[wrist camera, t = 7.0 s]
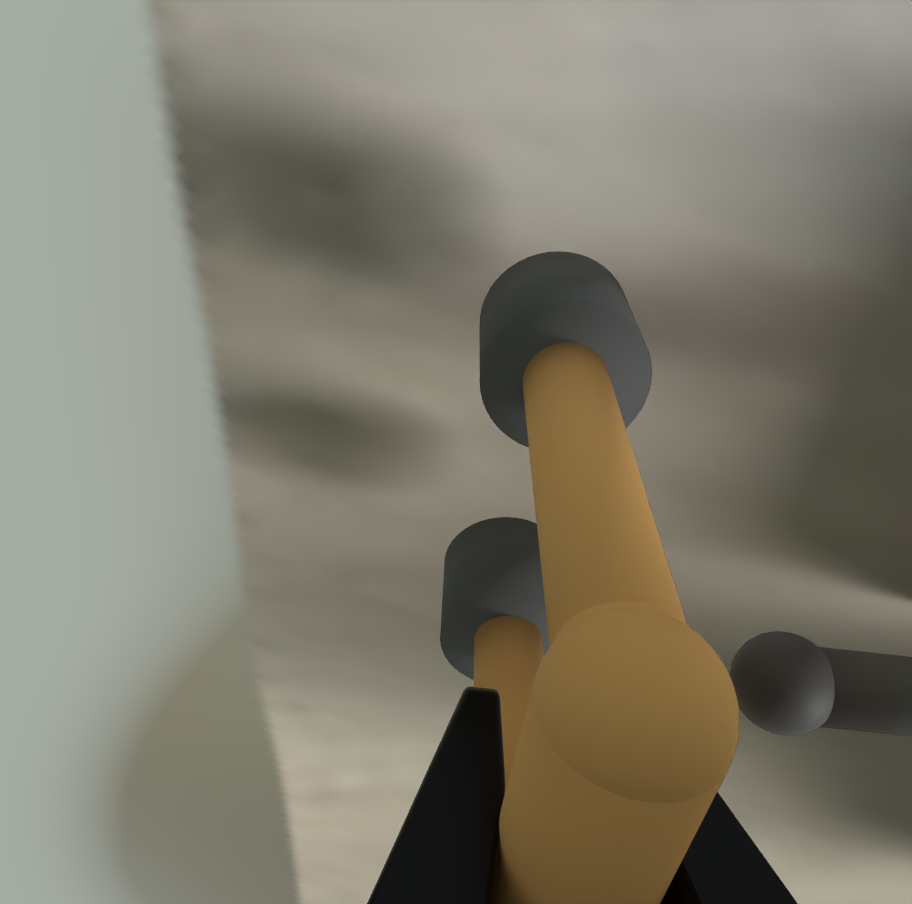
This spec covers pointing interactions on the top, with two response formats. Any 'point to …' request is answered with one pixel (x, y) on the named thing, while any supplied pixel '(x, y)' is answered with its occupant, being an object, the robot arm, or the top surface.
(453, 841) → the robot arm
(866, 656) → the shelf
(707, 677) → the tan bar handle
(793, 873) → the top surface
